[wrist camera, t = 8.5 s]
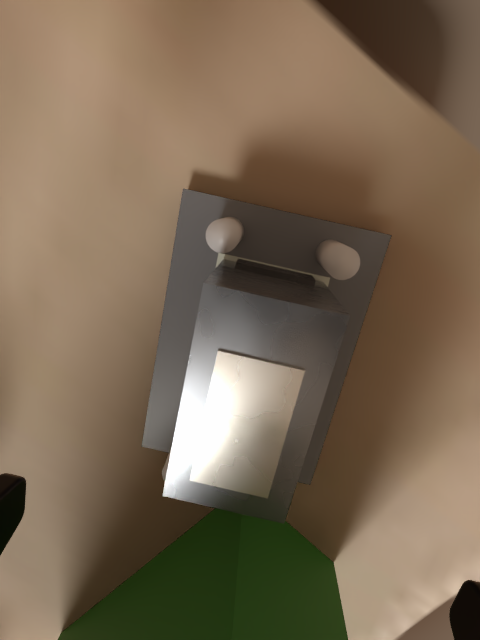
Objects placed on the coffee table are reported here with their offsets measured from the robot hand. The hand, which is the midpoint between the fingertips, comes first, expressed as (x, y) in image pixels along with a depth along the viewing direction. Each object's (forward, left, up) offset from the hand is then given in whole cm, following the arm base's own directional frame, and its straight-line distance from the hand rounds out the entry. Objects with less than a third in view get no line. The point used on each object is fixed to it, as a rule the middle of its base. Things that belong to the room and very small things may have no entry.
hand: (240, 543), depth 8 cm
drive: (0, 0, -11) cm, 11 cm away
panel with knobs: (0, 0, -12) cm, 12 cm away
